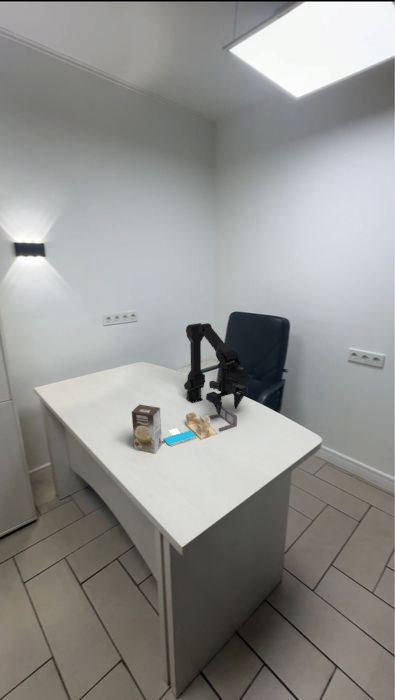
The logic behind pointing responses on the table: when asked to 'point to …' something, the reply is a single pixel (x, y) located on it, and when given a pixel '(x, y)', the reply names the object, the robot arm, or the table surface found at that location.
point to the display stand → (200, 426)
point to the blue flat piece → (179, 437)
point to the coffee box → (147, 428)
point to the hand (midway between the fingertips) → (227, 411)
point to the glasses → (226, 418)
